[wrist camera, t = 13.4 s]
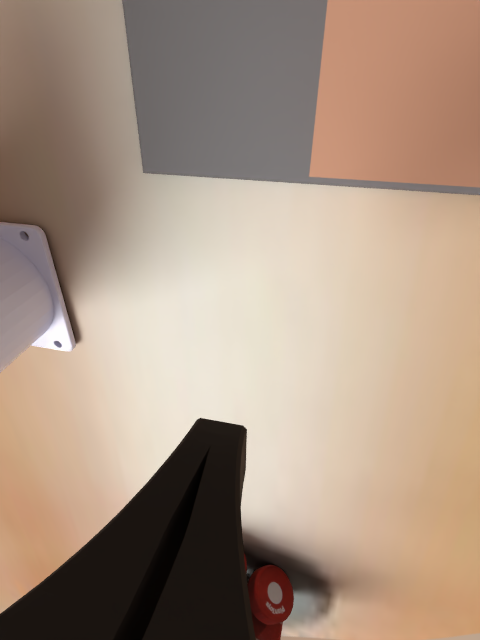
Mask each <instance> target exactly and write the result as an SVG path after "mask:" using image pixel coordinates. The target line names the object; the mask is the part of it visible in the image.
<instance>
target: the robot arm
mask: <svg viewBox="0 0 480 640" xmlns="http://www.w3.org/2000/svg"><path fill="white" fill-rule="evenodd" d="M25 232H26V233H27V234H28V236H29V237H27V236H26V234H25ZM29 346H37V347H44V348H50V349H56V350H62V351H72V350H73V349H74V348H75V346H76V342H75V339H74V335H73V332H72V328H71V325H70V321H69V317H68V314H67V310H66V307H65V303H64V299H63V296H62V292H61V289H60V285H59V282H58V278H57V274H56V271H55V267H54V264H53V260H52V256H51V253H50V249H49V246H48V242H47V238H46V235H45V233H44V231H43V230H42V229H41V228H40V227H38V226H35V225H27V224H17V223H6V222H0V372H2V371H3V370H4V369H5V368H6V367H7V366H8V365H9V364H11V363H12V362H13V361H14V360H15V359H16V358H17V357H18V356H19V355H21V354H22V353H23V352H24V351H25V350H26V349H27V348H28V347H29ZM246 437H247V429H246V428H245V427H244V426H242V425H236V424H231V423H225V422H219V421H214V420H208V419H203V418H200V419H198V420H197V421H196V422H195V423H194V425H193V426H192V428H191V429H190V430H189V432H188V433H187V435H186V436H185V437H184V439H183V440H182V441H181V443H180V444H179V445H178V446H177V448H176V449H175V450H174V451H173V453H172V454H171V455H170V456H169V458H168V459H167V460H166V461H165V462H164V464H163V465H162V466H161V467H160V468H159V469H158V471H157V472H156V473H155V474H154V475H153V477H152V478H151V479H150V480H149V481H148V482H147V483H146V485H145V486H144V487H143V488H142V489H141V490H140V491H139V492H138V493H137V494H136V495H135V496H134V497H133V498H132V500H131V501H130V502H129V503H128V504H127V505H126V506H125V507H124V508H123V509H122V510H121V511H120V512H119V513H118V514H117V515H116V516H115V517H114V518H113V519H112V520H111V521H110V522H109V523H108V524H107V525H106V526H105V527H104V528H103V529H102V530H101V531H100V532H99V533H98V534H96V535H95V536H94V537H93V538H92V539H91V540H90V541H89V542H88V543H87V544H86V545H85V546H83V547H82V548H81V549H80V550H79V551H78V552H77V553H75V554H74V555H73V556H72V557H71V558H70V559H68V560H67V561H66V562H65V563H64V564H63V565H62V566H60V567H59V568H58V569H57V570H56V571H54V572H53V573H52V574H51V575H50V576H48V577H47V578H46V579H45V580H44V581H42V582H41V583H40V584H39V585H37V586H36V587H35V588H33V589H32V590H31V591H29V592H28V593H27V594H26V595H24V596H23V597H22V598H20V599H19V600H18V601H16V602H15V603H14V604H13V605H11V606H10V607H9V608H7V609H6V610H5V611H3V612H2V613H1V614H0V640H256V638H255V632H254V626H253V620H252V614H251V607H250V600H249V593H248V585H247V577H246V569H245V560H244V550H243V539H242V526H241V497H242V489H243V482H244V476H245V470H246Z"/></svg>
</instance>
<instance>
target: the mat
mask: <svg viewBox="0 0 480 640" xmlns="http://www.w3.org/2000/svg"><path fill="white" fill-rule="evenodd" d="M122 1H123V9H124V17H125V26H126V34H127V42H128V50H129V59H130V67H131V75H132V83H133V91H134V100H135V108H136V116H137V124H138V132H139V141H140V149H141V157H142V165H143V173H152V174H167V175H182V176H197V177H212V178H228V179H243V180H258V181H273V182H288V183H303V184H318V185H333V186H348V187H364V188H379V189H394V190H409V191H424V192H439V193H454V194H469V195H480V187H464V186H448V185H432V184H417V183H401V182H385V181H369V180H353V179H337V178H321V177H309V173H310V163H311V154H312V144H313V135H314V125H315V116H316V106H317V97H318V87H319V78H320V68H321V59H322V49H323V39H324V30H325V20H326V11H327V1H328V0H122Z"/></svg>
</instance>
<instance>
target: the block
mask: <svg viewBox="0 0 480 640" xmlns="http://www.w3.org/2000/svg"><path fill="white" fill-rule="evenodd" d="M309 177H321V178H337V179H353V180H369V181H385V182H401V183H417V184H432V185H448V186H464V187H480V0H328V1H327V11H326V20H325V30H324V39H323V49H322V59H321V68H320V78H319V87H318V97H317V106H316V116H315V125H314V135H313V144H312V154H311V163H310V173H309Z"/></svg>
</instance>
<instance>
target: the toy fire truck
mask: <svg viewBox="0 0 480 640" xmlns="http://www.w3.org/2000/svg"><path fill="white" fill-rule="evenodd" d="M244 560H245V569H246V572H247V562H246V557H245V554H244ZM247 585H248V593H249V600H250V607H251V614H252V620H253V626H254V632H255V638H256V640H280V637H281V631H282V624H283V621H284V620H286V619H287V618H288V616H289V615H290V613H291V611H292V608H293V602H294V596H293V589H292V585H291V583H290V580H289V578H288V577H287V575H286V574H285V573H284V571H283V570H282V569H280V568H279V567H277V566H275V565H265V566H263V567H261V568H258V569H257V570H255V571H254V572H253V574H252V575H251V577H250V579H249V582H248V584H247Z"/></svg>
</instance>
